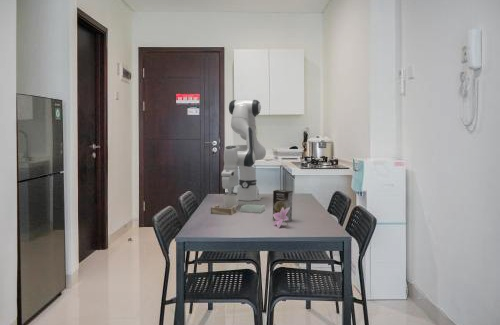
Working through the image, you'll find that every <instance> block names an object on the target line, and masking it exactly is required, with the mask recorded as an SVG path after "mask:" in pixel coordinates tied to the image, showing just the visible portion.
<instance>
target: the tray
mask: <svg viewBox="0 0 500 325" xmlns="http://www.w3.org/2000/svg"><path fill="white" fill-rule="evenodd" d="M265 210H266V205H265V204H263V205H262V204H244V205H242V206H240V213H250V214H251V213H252V214H261V213H263V212H265Z"/></svg>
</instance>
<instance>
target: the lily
mask: <svg viewBox="0 0 500 325" xmlns="http://www.w3.org/2000/svg"><path fill="white" fill-rule="evenodd" d="M289 209H290V207H289V208H287V209H285V210H284V208H282V209H281V211H280V213H279V212H278V213H275V214H273V213H272V218H273V217H274V218H275V219H276V220H274V222H273V224H272V226H273V227H274V226H277V229H280V227H281V225H282V223H283V222H286V225H287V226H289V224H288V222H287V221H286V220H288V217H287V216H286V214H287V212H288V210H289Z"/></svg>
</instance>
